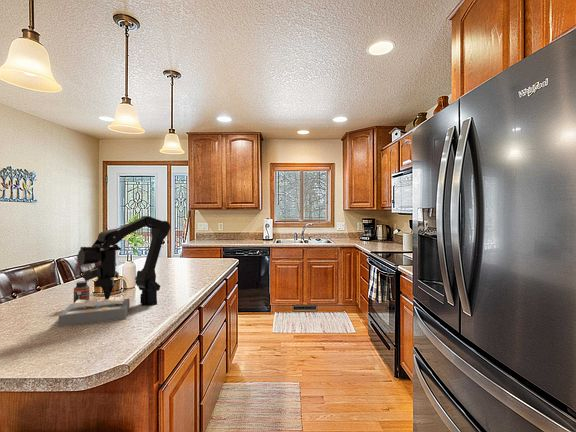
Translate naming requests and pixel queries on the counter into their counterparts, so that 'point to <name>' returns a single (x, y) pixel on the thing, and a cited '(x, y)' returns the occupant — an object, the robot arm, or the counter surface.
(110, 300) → the block
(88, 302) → the panel
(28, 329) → the counter surface
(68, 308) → the console
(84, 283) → the supplement bottle
